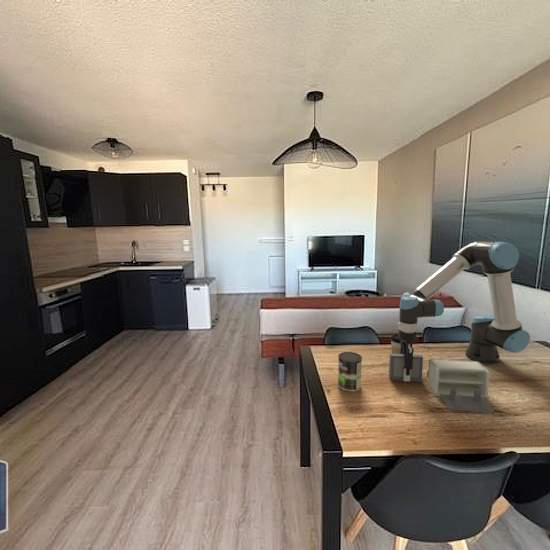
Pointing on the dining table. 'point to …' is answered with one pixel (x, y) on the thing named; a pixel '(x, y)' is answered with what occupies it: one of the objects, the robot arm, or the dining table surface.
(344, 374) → the coffee can
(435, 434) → the dining table surface
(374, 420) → the dining table surface
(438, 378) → the cabinet
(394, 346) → the coffee cup
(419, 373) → the grey rectangular panel
